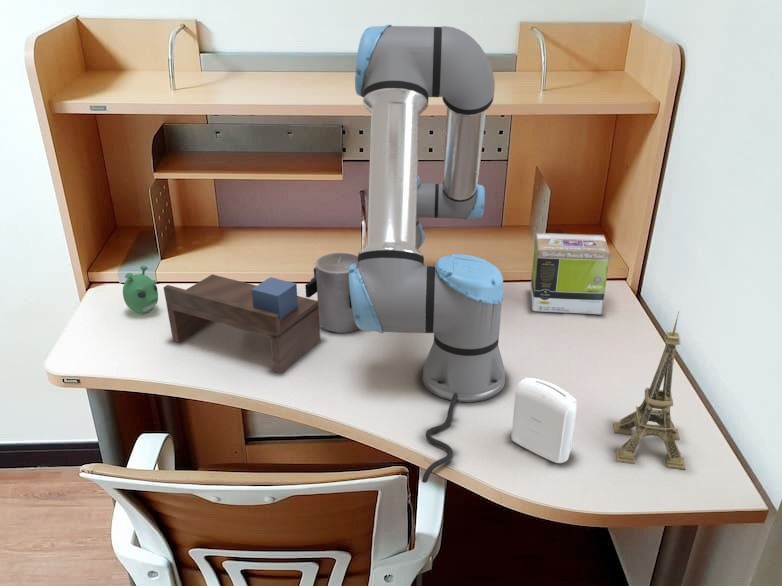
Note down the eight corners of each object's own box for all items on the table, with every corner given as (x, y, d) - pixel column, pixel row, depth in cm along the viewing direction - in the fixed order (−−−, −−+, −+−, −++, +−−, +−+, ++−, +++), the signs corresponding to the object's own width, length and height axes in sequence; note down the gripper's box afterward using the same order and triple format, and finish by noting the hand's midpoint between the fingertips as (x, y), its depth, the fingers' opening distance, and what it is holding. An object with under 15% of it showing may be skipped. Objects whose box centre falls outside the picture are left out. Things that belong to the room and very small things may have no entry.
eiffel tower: (616, 461, 121) (644, 324, 108) (613, 423, 130) (639, 291, 117) (685, 469, 120) (722, 331, 106) (677, 430, 128) (710, 297, 115)
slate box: (298, 307, 146) (296, 283, 143) (280, 320, 141) (278, 296, 138) (272, 300, 148) (270, 277, 145) (253, 313, 143) (251, 289, 141)
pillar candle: (356, 308, 165) (354, 244, 157) (371, 329, 157) (370, 262, 149) (312, 316, 162) (308, 250, 154) (325, 337, 154) (322, 269, 146)
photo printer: (506, 440, 126) (513, 378, 119) (521, 429, 128) (528, 367, 122) (559, 468, 120) (569, 404, 113) (573, 456, 122) (584, 392, 116)
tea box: (596, 295, 171) (606, 233, 163) (601, 316, 163) (612, 252, 155) (529, 291, 172) (535, 230, 164) (530, 312, 164) (538, 248, 156)
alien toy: (145, 323, 158) (137, 279, 153) (119, 314, 161) (110, 271, 156) (170, 310, 163) (163, 267, 158) (144, 301, 166) (136, 259, 161)
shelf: (320, 340, 153) (317, 287, 146) (280, 373, 142) (275, 317, 136) (217, 312, 162) (210, 260, 156) (172, 341, 152) (163, 287, 145)
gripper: (426, 282, 166) (377, 325, 149) (339, 262, 175) (284, 301, 158) (427, 250, 162) (377, 291, 145) (338, 231, 171) (281, 268, 154)
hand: (328, 296), depth 152 cm, fingers closed on pillar candle, 10 cm apart
